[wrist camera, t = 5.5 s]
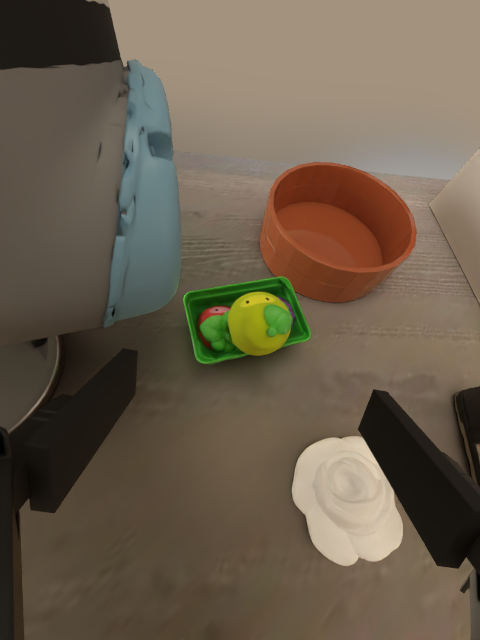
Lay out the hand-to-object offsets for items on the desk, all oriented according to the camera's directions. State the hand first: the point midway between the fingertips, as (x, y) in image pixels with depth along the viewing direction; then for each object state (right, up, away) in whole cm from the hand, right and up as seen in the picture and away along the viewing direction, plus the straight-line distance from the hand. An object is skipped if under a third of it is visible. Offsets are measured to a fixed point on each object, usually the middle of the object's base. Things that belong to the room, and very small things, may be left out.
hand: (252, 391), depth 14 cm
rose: (+9, -12, +10) cm, 18 cm away
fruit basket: (0, +2, +15) cm, 15 cm away
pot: (+11, +14, +23) cm, 29 cm away
